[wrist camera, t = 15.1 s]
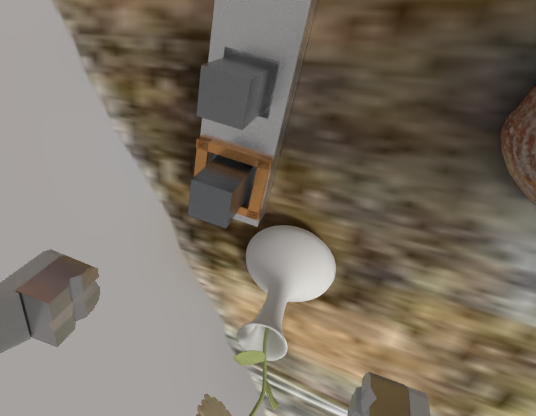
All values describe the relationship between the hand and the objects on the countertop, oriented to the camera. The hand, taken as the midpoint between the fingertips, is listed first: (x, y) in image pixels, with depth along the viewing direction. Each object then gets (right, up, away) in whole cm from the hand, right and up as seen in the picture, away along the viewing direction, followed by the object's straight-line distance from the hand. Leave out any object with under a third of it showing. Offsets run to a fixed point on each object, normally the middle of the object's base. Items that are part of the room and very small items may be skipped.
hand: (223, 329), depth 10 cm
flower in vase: (+5, -3, +35) cm, 36 cm away
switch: (0, +16, +24) cm, 29 cm away
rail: (0, +17, +25) cm, 30 cm away
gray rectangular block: (-2, +8, +29) cm, 30 cm away
